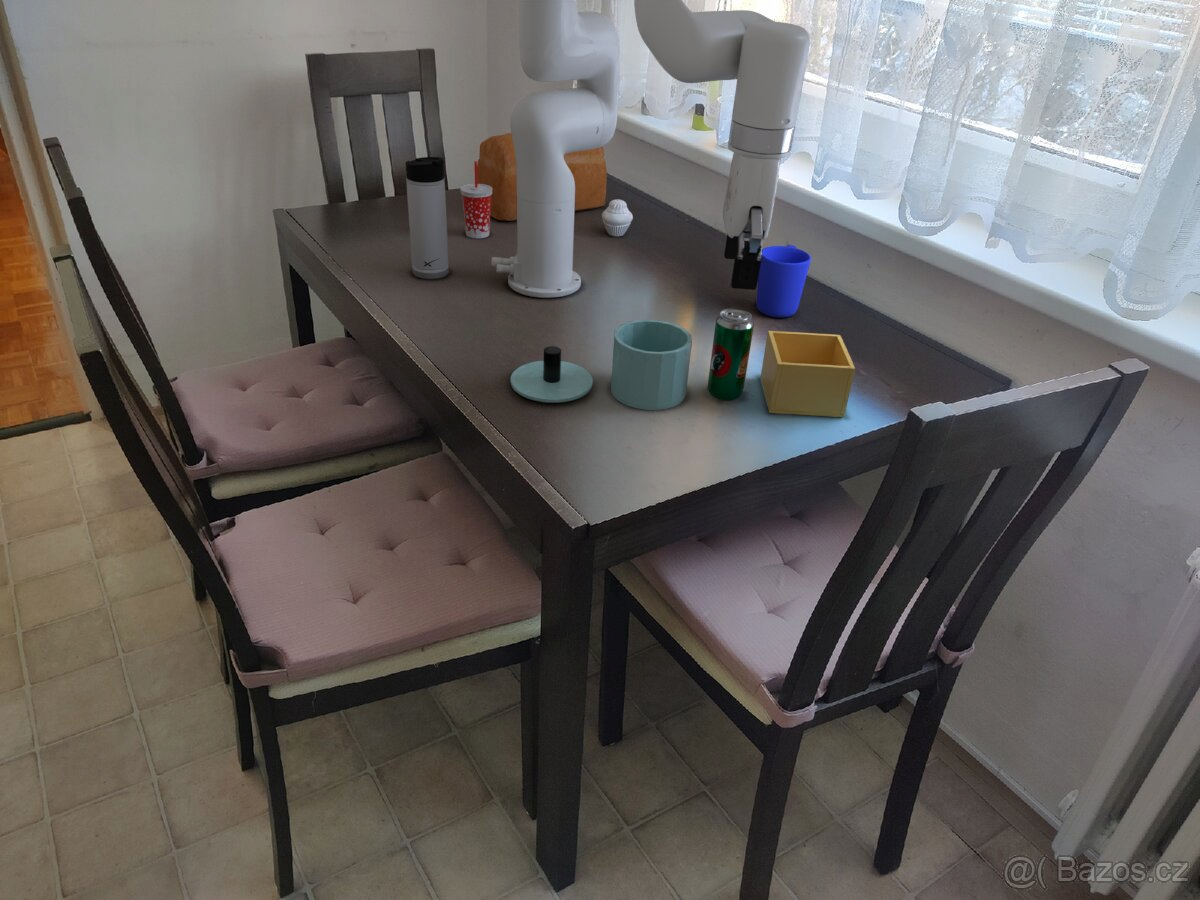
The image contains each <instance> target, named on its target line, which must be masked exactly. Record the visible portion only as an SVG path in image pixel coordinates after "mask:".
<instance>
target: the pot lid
mask: <svg viewBox="0 0 1200 900" xmlns="http://www.w3.org/2000/svg"><path fill="white" fill-rule="evenodd" d="M542 359H543V360H537V361H532V362H528V363H525V364H523V365H521V366H519V367H517V368H516V369H515V370H514V371H512V373H511V376H510V386H511V388H512V389H513V391H514V392H515V393H517V394H518V395H520V396H522V397H524V398H526V399H529V400H532V401H535V402H541V403H565V402H571V401H574V400H578V399H580V398H582V397H584V396H586V395H587V394H588V393H589V392H590V391H591V390H592V388H593V385H594V384H593V383H594V380H593V376H592V374H591V373H590V372H589V371H588V370H587V369H585V368H584V367H582V366H580V365H578V364H575V363H572V362H568V361H564V360H562V349H561V347H559V346H556V345H550V346H546V347H544V348H543V358H542Z"/></svg>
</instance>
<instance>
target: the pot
mask: <svg viewBox="0 0 1200 900" xmlns="http://www.w3.org/2000/svg"><path fill="white" fill-rule="evenodd" d="M613 333H614V335H613V347H612V348H613V350H612V364H611V382H610V392H611V394H612V396H613V397H614V398H615V399H616V400H617V401H618V402H620V403H621V404H623V405H625V406H628V407H631V408H634V409H639V410H645V411H646V410H647V411H660V410H661V411H662V410H666V409H671V408H674V407H676V406H678V405H680V404H681V403H683V401H684V400H685V397H686V395H687V388H688V380H689V371H690V364H691V356H692V345H693V338H692V334H691V333H690V332H689V331H688V330H687V329H685V328H684V327H682V326H679V325H678V324H675V323H674V322H668V321H665V320H657V319H638V320H631V321H628V322H625V323H623V324H620V325H618V327H617V328H616V329H615V330H614V332H613Z"/></svg>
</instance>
